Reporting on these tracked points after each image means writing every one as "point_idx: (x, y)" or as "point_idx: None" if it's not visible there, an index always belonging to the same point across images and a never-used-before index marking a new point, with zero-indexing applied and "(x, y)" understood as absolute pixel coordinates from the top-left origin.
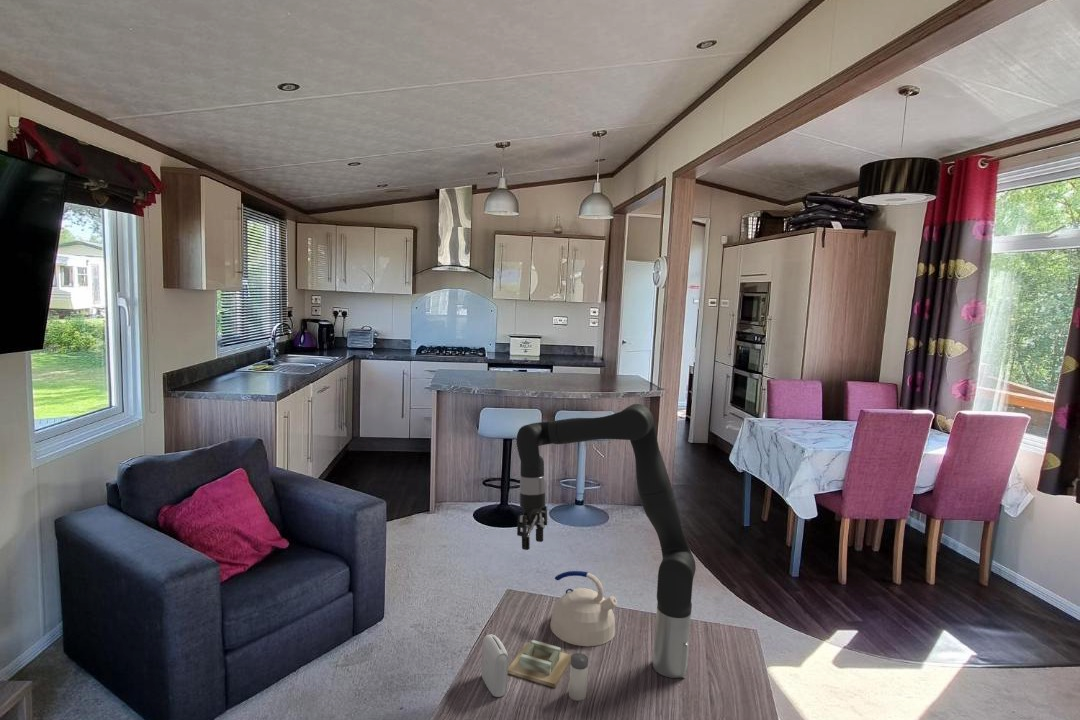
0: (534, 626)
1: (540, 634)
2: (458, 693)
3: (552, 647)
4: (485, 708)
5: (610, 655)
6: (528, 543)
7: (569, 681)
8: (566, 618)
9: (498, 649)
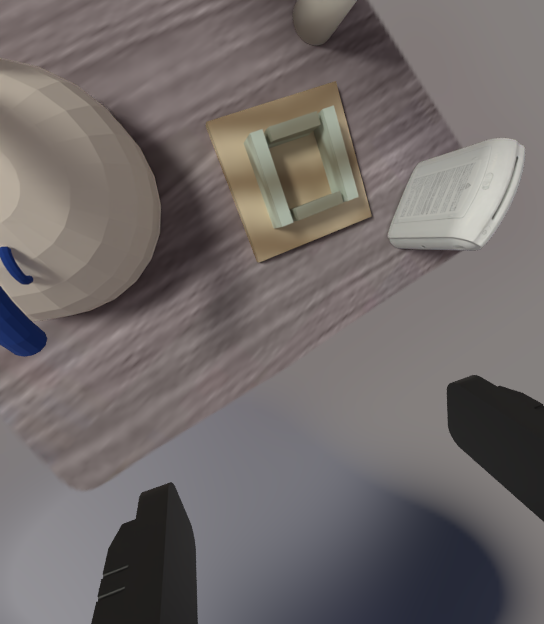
0: (172, 314)
1: (189, 273)
2: None
3: (268, 154)
4: None
5: (91, 30)
6: (532, 408)
7: (343, 18)
8: (139, 195)
9: (523, 158)
